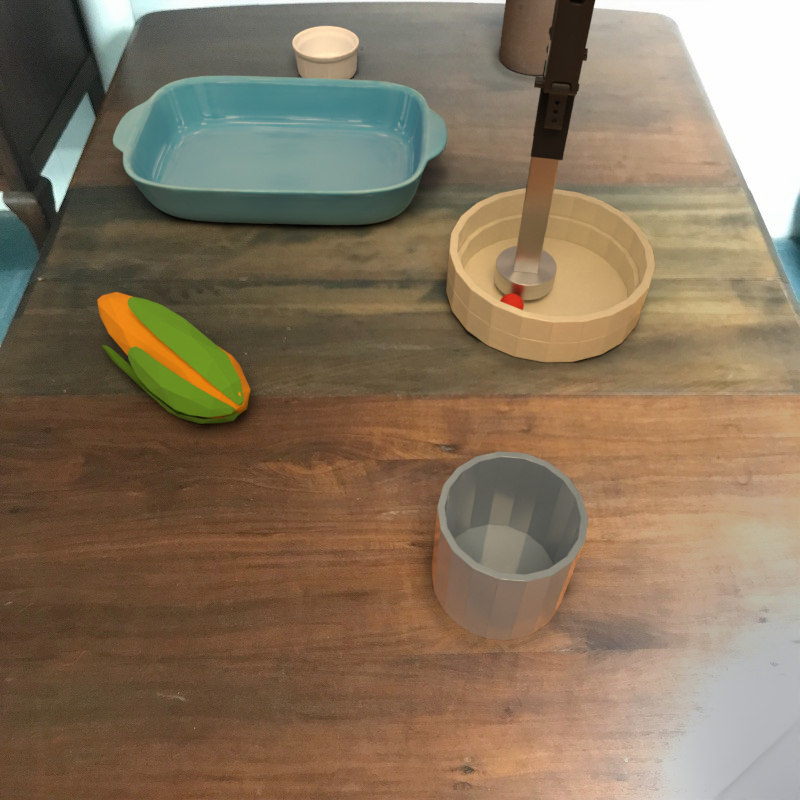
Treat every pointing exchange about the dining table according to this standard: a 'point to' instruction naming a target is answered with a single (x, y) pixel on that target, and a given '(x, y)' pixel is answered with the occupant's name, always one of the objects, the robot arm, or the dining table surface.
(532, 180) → the silver disc tamper
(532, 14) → the pillar candle
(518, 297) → the cherry tomato
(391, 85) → the casserole dish
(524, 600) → the crock
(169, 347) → the corn
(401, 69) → the dining table surface
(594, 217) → the bowl
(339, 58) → the ramekin
